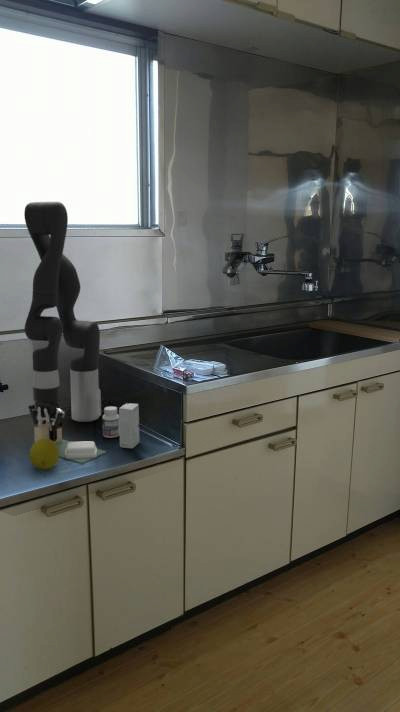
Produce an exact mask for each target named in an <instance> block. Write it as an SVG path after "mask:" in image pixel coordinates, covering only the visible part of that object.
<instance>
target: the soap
mask: <svg viewBox="0 0 400 712" xmlns="http://www.w3.org/2000/svg"><path fill="white" fill-rule="evenodd" d="M97 449H98V448H97V446H96V443H95V441H94V440H91V441H89V440H88V441H87V440H85V441H70V442H69V443H68V444H67V447H66V450H65V458H89V457H96V456H97ZM96 458H97V457H96Z"/></svg>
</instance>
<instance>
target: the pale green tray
mask: <svg viewBox="0 0 400 712" xmlns="http://www.w3.org/2000/svg"><path fill="white" fill-rule="evenodd" d="M52 424H53V422H52ZM53 425H54V424H53ZM62 428H63V426H62V427H61V428H59V429H57V439H56V441H54V442H55V443H56V445H57V446H58V448H59V452H60V453H59V459H65V460H68V461H71V462H74V463H78V464H81V465H85V464H86V463H88V462H90V461H92V460H94V459H96V458H98V457H100V456H102V455H105V454H106V453H107V451H106V450H102V449H99V448H97V456H96V457H89V458H65V450H66V447H67V444H68V443H69V442H71V441H69V440H66V439H63V435H62V434H63V432H62V431H63V429H62ZM33 430H34V432H33V433H34V443H35V442H36V441H38V440H40V439H44V438H47V439H49V425H48V423H45V424H42V425H40V426H38V425H37V426H34V427H33ZM31 448H32V446H31ZM31 448H30V449H31Z"/></svg>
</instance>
